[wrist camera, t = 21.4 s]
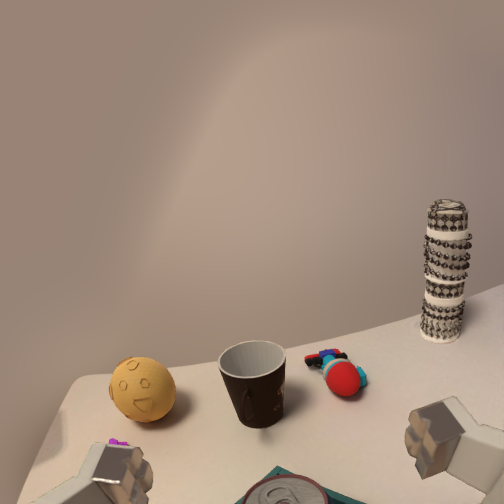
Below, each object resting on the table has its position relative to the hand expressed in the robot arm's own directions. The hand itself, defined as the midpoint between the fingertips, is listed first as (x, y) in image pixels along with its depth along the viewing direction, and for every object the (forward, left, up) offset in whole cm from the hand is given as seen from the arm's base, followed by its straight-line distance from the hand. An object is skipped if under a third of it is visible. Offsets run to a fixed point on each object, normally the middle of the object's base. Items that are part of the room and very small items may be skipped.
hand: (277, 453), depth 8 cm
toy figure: (+15, -32, -25) cm, 43 cm away
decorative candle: (+2, -52, -25) cm, 57 cm away
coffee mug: (+20, -18, -25) cm, 37 cm away
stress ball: (+33, -9, -25) cm, 43 cm away
